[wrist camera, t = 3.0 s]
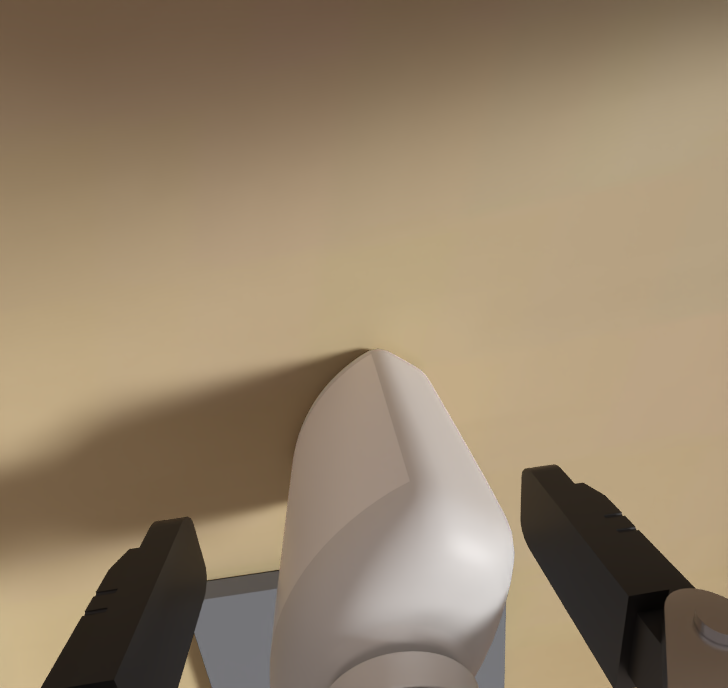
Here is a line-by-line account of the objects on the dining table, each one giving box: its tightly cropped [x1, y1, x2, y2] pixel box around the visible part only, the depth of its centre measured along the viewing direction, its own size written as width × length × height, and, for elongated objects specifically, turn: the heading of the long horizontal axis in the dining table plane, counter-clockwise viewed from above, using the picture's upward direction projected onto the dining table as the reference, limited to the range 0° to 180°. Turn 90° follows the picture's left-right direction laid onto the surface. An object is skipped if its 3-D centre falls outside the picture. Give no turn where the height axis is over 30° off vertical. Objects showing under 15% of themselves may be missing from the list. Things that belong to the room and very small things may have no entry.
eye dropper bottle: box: [270, 349, 514, 688], centre depth 9 cm, size 4×6×12 cm
